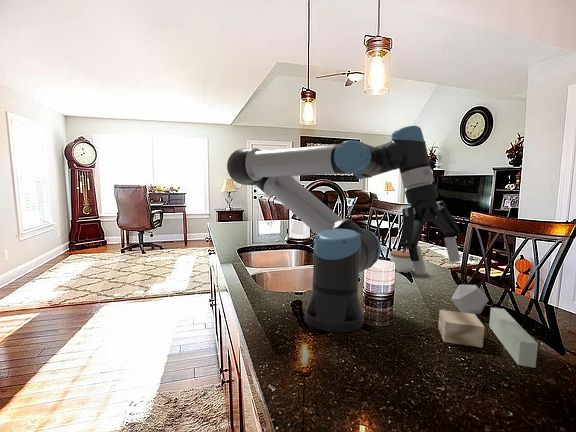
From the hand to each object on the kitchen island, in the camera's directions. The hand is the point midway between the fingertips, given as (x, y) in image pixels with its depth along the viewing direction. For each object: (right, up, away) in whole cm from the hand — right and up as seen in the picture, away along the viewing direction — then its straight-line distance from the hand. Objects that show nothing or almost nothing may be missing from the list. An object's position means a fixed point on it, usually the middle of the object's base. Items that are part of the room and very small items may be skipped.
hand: (438, 267), depth 85 cm
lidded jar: (+10, -10, +57) cm, 59 cm away
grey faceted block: (+14, -15, +12) cm, 23 cm away
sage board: (+13, -16, -8) cm, 22 cm away
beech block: (+3, -16, -5) cm, 17 cm away
